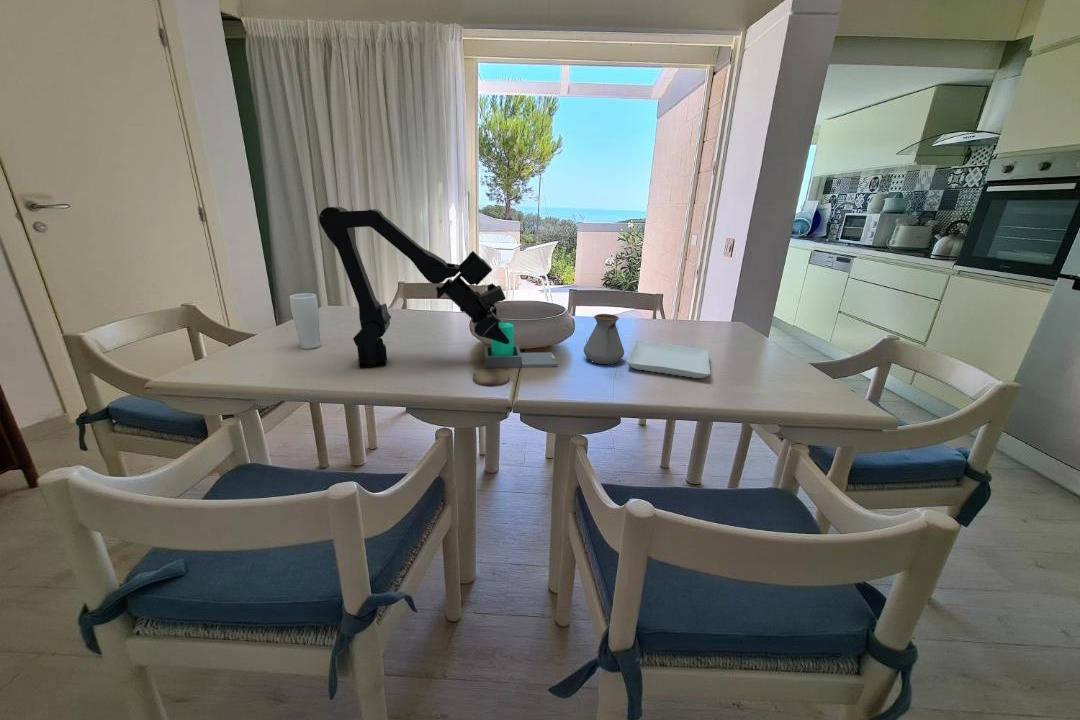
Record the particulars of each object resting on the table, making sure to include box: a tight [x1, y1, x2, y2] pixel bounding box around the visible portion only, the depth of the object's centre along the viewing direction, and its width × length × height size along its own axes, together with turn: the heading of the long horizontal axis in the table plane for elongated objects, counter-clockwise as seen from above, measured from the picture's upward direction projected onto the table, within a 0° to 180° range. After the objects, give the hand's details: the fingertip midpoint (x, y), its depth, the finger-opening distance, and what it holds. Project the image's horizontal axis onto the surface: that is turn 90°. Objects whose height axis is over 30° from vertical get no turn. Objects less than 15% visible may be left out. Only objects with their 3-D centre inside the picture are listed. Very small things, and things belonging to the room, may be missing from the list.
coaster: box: [472, 367, 510, 387], centre depth 106 cm, size 9×9×1 cm
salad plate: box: [626, 339, 711, 379], centre depth 121 cm, size 21×21×3 cm
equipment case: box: [484, 345, 559, 369], centre depth 119 cm, size 19×10×3 cm, turn 98°
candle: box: [491, 319, 515, 356], centre depth 117 cm, size 6×6×12 cm
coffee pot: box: [583, 313, 625, 365], centre depth 115 cm, size 21×12×15 cm, turn 177°
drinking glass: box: [289, 292, 322, 350], centre depth 122 cm, size 7×7×15 cm
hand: (507, 337), depth 117 cm, fingers open, 9 cm apart
